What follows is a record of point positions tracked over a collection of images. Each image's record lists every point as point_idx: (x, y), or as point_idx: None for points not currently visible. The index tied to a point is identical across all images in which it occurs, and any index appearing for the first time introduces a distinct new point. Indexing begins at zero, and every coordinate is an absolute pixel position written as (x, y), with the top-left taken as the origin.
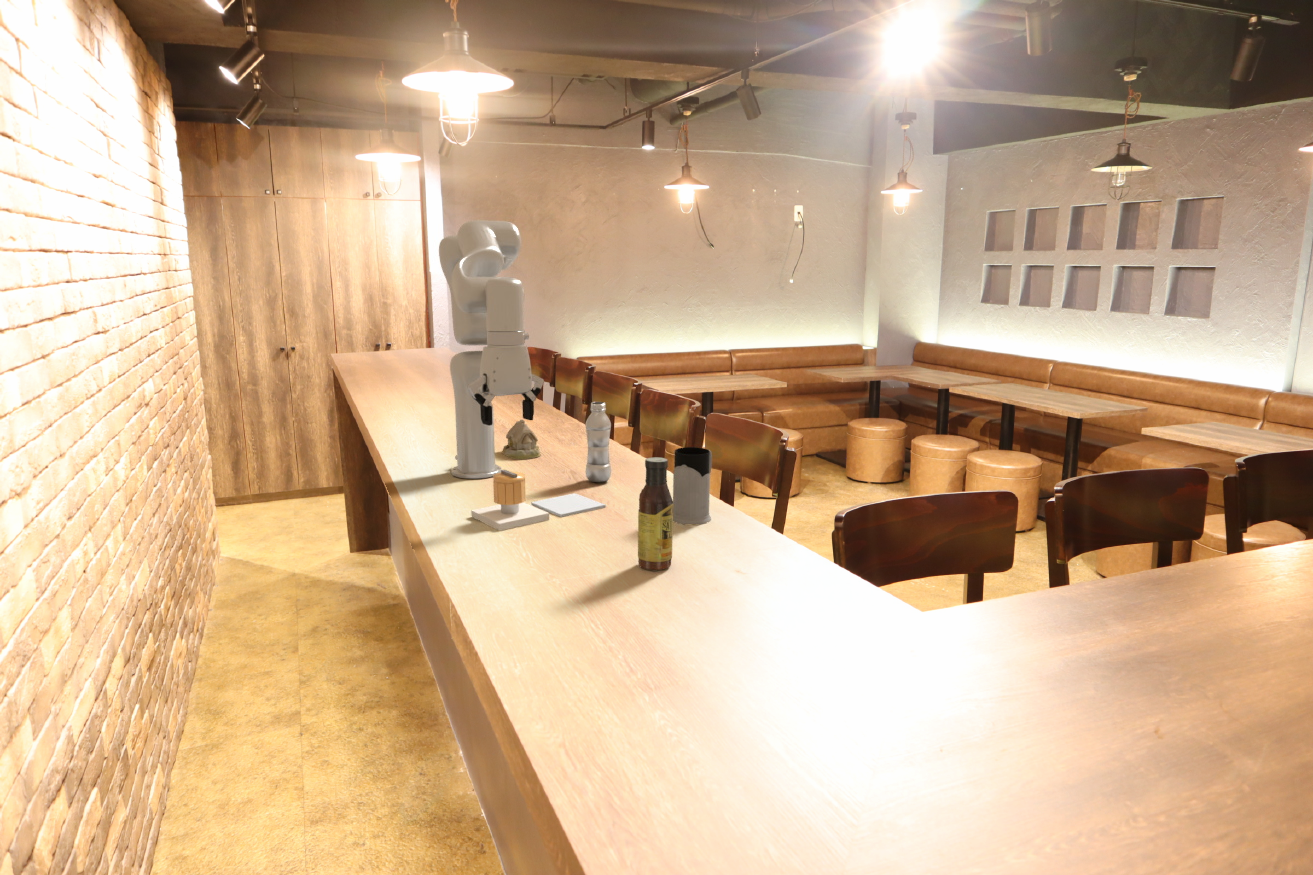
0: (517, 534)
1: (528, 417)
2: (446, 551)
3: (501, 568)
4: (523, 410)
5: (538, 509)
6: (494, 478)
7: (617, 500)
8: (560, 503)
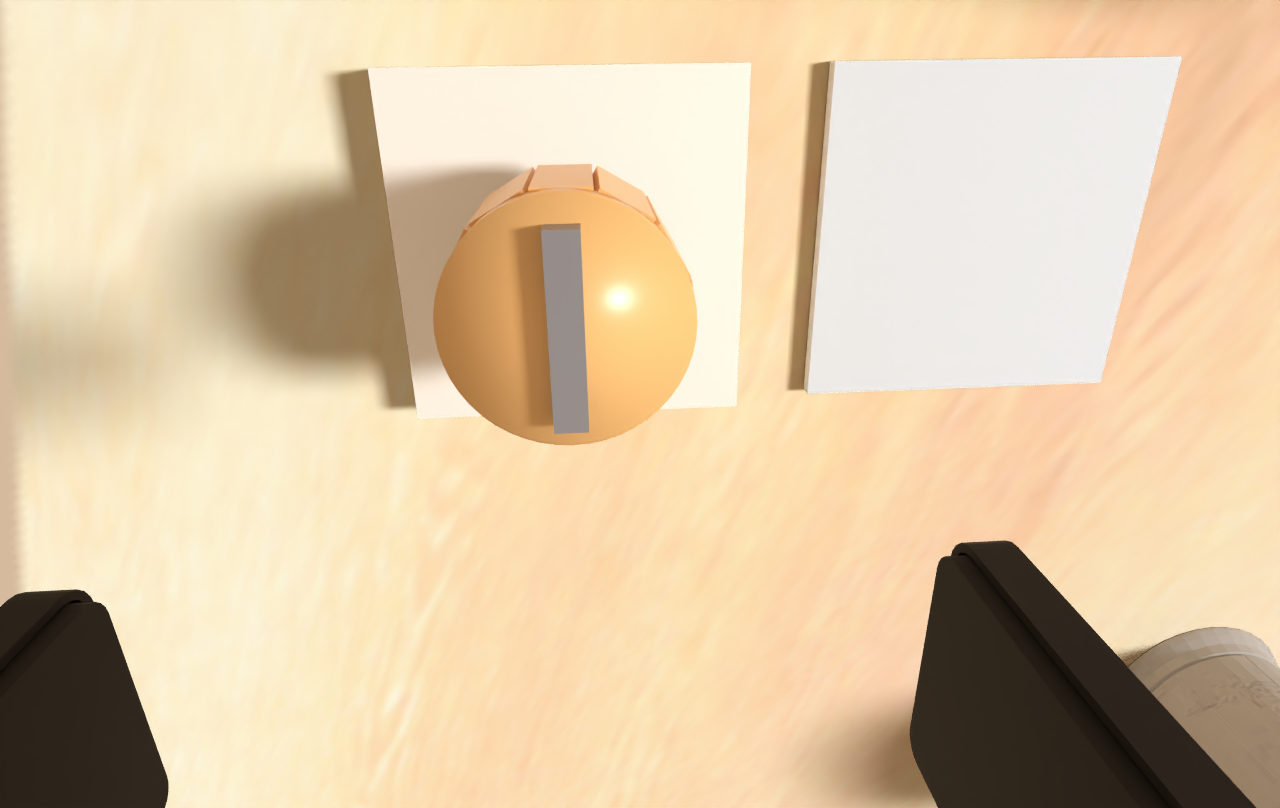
0: (479, 491)
1: (930, 736)
2: (89, 517)
3: (256, 765)
4: (1015, 686)
5: (730, 315)
6: (434, 314)
7: (1239, 307)
8: (947, 209)
